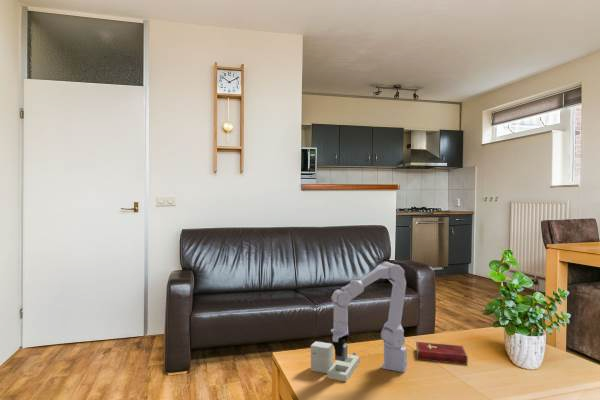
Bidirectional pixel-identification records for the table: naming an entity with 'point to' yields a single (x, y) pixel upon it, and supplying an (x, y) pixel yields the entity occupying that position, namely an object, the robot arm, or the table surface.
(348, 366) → the power strip
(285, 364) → the table surface
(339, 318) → the robot arm
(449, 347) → the hardcover book
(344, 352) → the plug
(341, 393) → the table surface
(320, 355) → the small box
